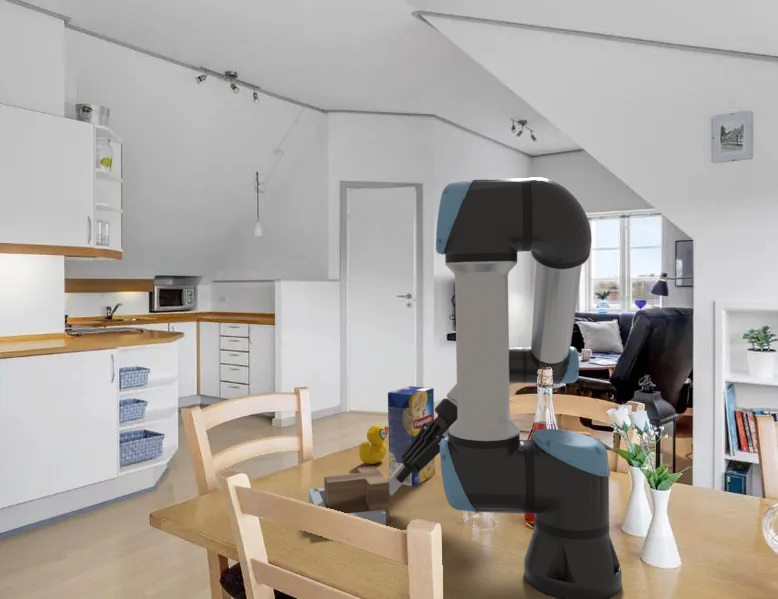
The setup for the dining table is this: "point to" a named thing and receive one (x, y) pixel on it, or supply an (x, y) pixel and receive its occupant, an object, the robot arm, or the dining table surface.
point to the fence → (377, 516)
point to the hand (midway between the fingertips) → (386, 490)
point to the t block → (358, 492)
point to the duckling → (374, 445)
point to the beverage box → (409, 426)
